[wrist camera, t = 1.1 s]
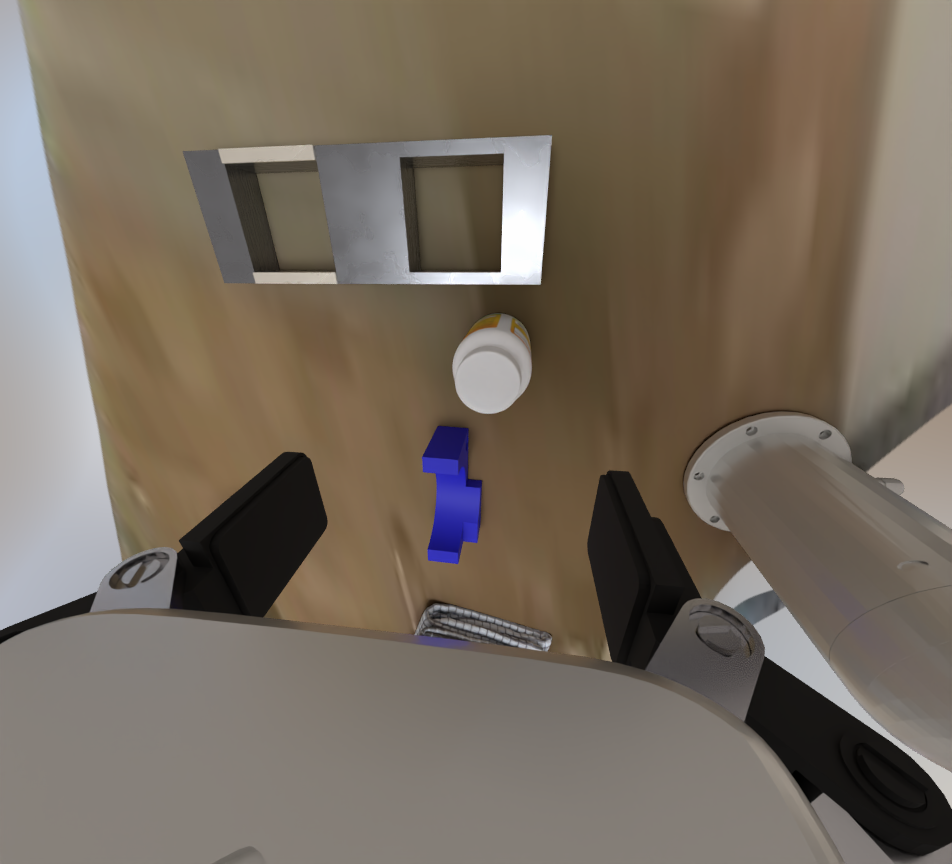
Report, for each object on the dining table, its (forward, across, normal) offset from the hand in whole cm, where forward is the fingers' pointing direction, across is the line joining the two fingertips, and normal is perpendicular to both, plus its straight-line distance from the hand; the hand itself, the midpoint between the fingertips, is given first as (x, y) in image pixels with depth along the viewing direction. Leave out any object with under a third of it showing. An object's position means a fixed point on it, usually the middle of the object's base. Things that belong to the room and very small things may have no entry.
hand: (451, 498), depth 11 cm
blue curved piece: (+21, +3, +14) cm, 25 cm away
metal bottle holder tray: (+20, +9, -9) cm, 24 cm away
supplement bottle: (+21, 0, 0) cm, 21 cm away
